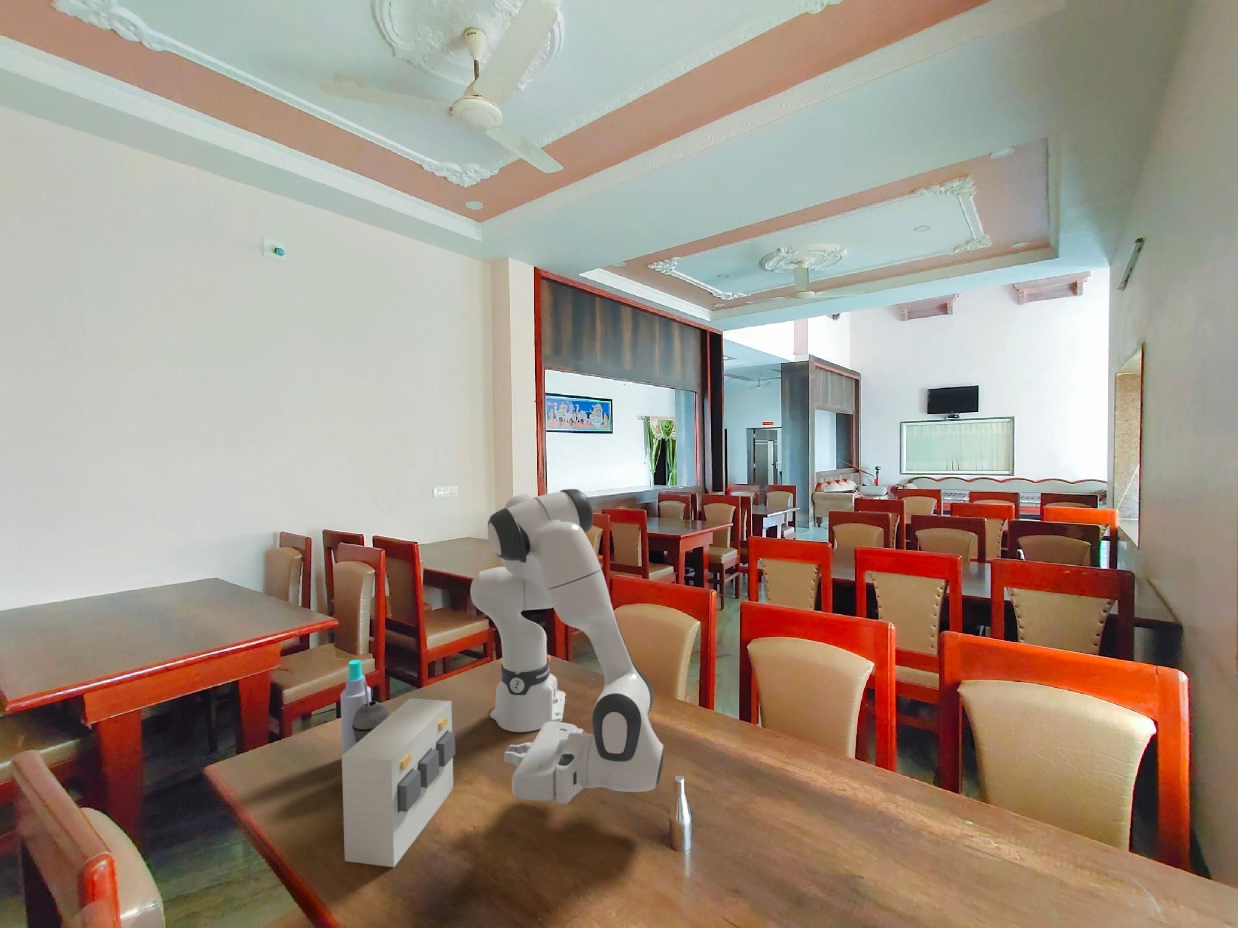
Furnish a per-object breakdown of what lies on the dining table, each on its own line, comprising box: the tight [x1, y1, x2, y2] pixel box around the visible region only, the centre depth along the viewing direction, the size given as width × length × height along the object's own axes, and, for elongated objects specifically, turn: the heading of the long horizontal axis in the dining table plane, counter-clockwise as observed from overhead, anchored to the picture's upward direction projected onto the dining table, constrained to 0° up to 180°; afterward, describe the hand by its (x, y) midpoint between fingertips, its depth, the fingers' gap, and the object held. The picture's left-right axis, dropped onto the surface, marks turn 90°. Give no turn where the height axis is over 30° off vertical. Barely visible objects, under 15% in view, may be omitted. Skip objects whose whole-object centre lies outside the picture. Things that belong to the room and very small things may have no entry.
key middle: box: [418, 749, 439, 788], centre depth 100 cm, size 4×4×4 cm
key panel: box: [341, 697, 454, 868], centre depth 101 cm, size 21×9×18 cm, turn 170°
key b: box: [436, 731, 456, 767], centre depth 107 cm, size 4×4×4 cm
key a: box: [397, 770, 421, 812], centre depth 94 cm, size 4×4×4 cm
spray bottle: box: [340, 659, 372, 756], centre depth 121 cm, size 6×6×22 cm
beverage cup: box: [352, 681, 390, 743], centre depth 115 cm, size 7×7×20 cm
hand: (506, 752), depth 104 cm, fingers closed
